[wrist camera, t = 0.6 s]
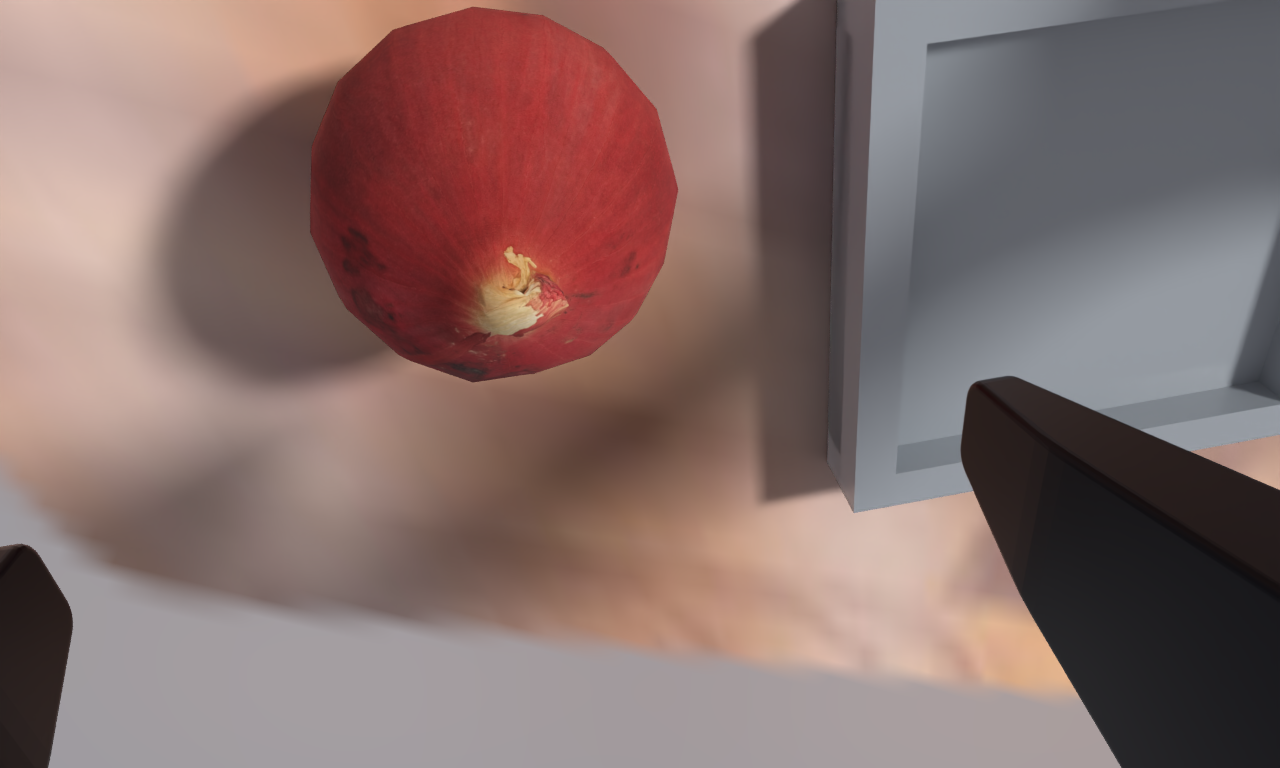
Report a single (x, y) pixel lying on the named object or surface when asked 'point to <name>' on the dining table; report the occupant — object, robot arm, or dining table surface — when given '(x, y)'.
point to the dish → (1050, 224)
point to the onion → (491, 193)
